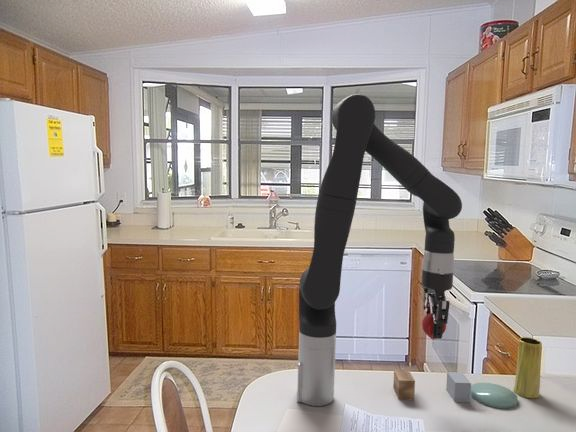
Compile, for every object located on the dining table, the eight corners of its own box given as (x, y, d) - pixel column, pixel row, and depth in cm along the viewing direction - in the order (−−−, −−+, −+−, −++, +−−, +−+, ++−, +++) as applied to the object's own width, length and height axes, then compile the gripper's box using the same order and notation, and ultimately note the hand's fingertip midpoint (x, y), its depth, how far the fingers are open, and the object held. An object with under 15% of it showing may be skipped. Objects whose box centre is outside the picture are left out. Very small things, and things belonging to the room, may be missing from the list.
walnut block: (398, 399, 111) (399, 380, 110) (393, 387, 117) (394, 369, 116) (414, 399, 111) (415, 380, 110) (408, 388, 117) (409, 370, 116)
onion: (446, 344, 109) (448, 313, 108) (422, 342, 110) (424, 311, 109) (443, 336, 114) (445, 306, 114) (420, 334, 116) (422, 304, 115)
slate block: (453, 401, 110) (455, 382, 110) (446, 390, 116) (447, 372, 116) (469, 402, 110) (471, 383, 110) (461, 390, 116) (462, 372, 116)
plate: (479, 407, 108) (480, 402, 107) (463, 386, 119) (463, 381, 118) (525, 409, 107) (525, 404, 107) (504, 387, 118) (505, 383, 118)
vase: (514, 395, 114) (518, 342, 113) (512, 385, 119) (516, 335, 118) (541, 400, 112) (545, 346, 110) (537, 390, 117) (541, 338, 116)
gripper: (415, 262, 118) (411, 323, 119) (431, 274, 103) (426, 343, 105) (443, 264, 118) (439, 324, 119) (462, 276, 103) (457, 344, 105)
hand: (433, 333), depth 112 cm, fingers closed on onion, 6 cm apart
